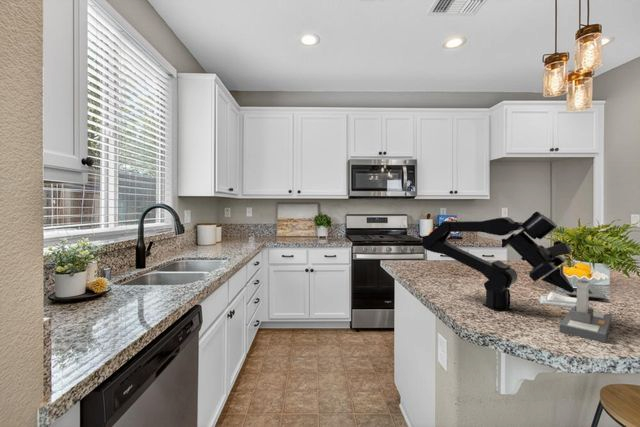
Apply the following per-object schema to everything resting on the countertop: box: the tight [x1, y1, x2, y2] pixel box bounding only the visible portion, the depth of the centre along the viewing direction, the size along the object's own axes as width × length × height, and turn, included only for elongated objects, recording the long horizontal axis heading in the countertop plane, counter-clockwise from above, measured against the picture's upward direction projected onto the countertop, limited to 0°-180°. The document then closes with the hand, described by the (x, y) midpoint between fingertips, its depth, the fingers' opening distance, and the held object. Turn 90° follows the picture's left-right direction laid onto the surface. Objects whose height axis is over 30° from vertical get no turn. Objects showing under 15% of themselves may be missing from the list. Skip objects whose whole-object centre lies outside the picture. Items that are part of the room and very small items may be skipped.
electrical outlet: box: [564, 288, 606, 301], centre depth 117 cm, size 13×10×2 cm
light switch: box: [539, 291, 577, 309], centre depth 108 cm, size 11×4×13 cm
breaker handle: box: [575, 279, 591, 313], centre depth 87 cm, size 2×5×8 cm, turn 133°
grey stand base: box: [559, 305, 613, 344], centre depth 86 cm, size 9×20×4 cm, turn 133°
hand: (573, 291), depth 88 cm, fingers closed
